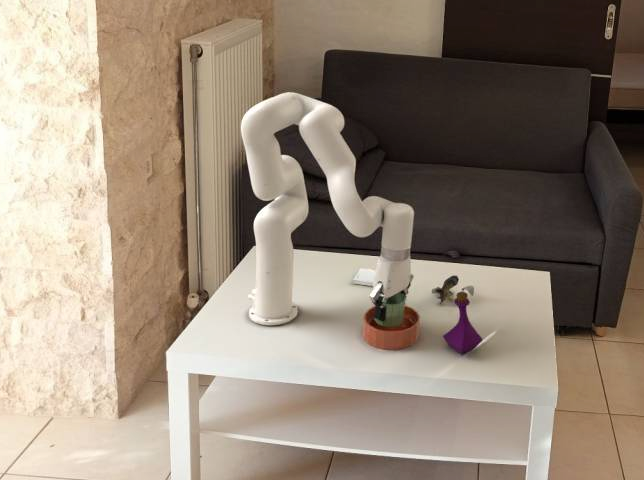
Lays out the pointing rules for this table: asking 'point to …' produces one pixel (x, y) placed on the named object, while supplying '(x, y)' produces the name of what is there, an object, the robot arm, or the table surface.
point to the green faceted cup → (393, 310)
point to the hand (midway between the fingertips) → (389, 313)
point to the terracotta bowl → (391, 331)
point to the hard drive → (364, 277)
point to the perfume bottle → (463, 327)
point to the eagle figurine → (446, 288)
